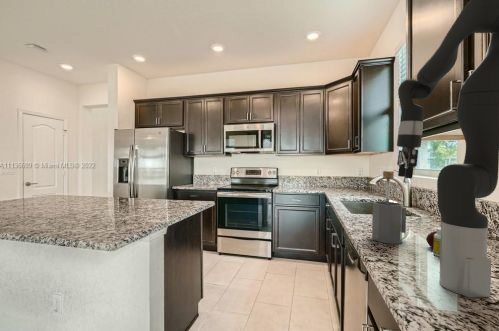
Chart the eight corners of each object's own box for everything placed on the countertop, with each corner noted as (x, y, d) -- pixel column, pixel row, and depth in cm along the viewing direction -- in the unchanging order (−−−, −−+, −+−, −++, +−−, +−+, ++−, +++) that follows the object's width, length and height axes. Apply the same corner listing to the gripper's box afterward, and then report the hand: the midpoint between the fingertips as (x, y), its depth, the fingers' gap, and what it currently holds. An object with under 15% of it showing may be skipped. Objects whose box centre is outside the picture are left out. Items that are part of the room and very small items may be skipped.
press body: (414, 244, 99) (415, 205, 99) (382, 244, 98) (383, 205, 98) (395, 235, 110) (396, 201, 110) (366, 236, 109) (367, 201, 109)
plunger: (403, 215, 100) (404, 171, 100) (384, 215, 99) (385, 171, 99) (389, 211, 108) (390, 171, 108) (372, 211, 108) (373, 170, 107)
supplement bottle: (432, 255, 87) (433, 228, 87) (434, 251, 91) (434, 226, 91) (451, 259, 83) (452, 232, 83) (452, 255, 87) (453, 229, 87)
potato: (455, 250, 93) (455, 232, 93) (443, 253, 89) (444, 235, 89) (433, 244, 99) (433, 227, 99) (422, 247, 96) (422, 229, 96)
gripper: (429, 133, 81) (423, 180, 82) (414, 136, 94) (409, 176, 95) (404, 131, 83) (398, 177, 84) (393, 135, 97) (388, 175, 98)
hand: (404, 177), depth 90 cm, fingers open, 8 cm apart
